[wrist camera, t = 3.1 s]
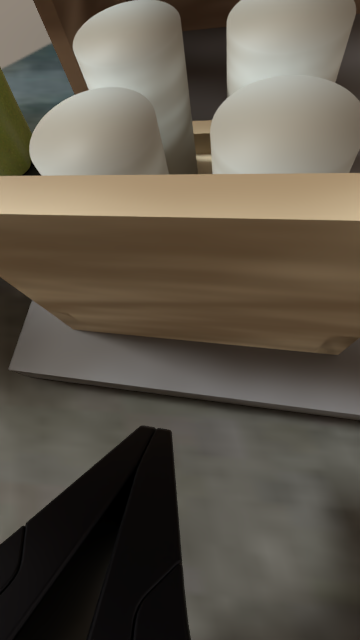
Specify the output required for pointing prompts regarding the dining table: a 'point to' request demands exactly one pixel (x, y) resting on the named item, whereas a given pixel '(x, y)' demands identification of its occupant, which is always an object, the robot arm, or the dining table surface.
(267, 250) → the tray
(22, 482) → the dining table surface
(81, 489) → the robot arm
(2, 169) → the plant pot
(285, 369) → the wooden display stand
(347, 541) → the dining table surface
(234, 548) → the dining table surface
